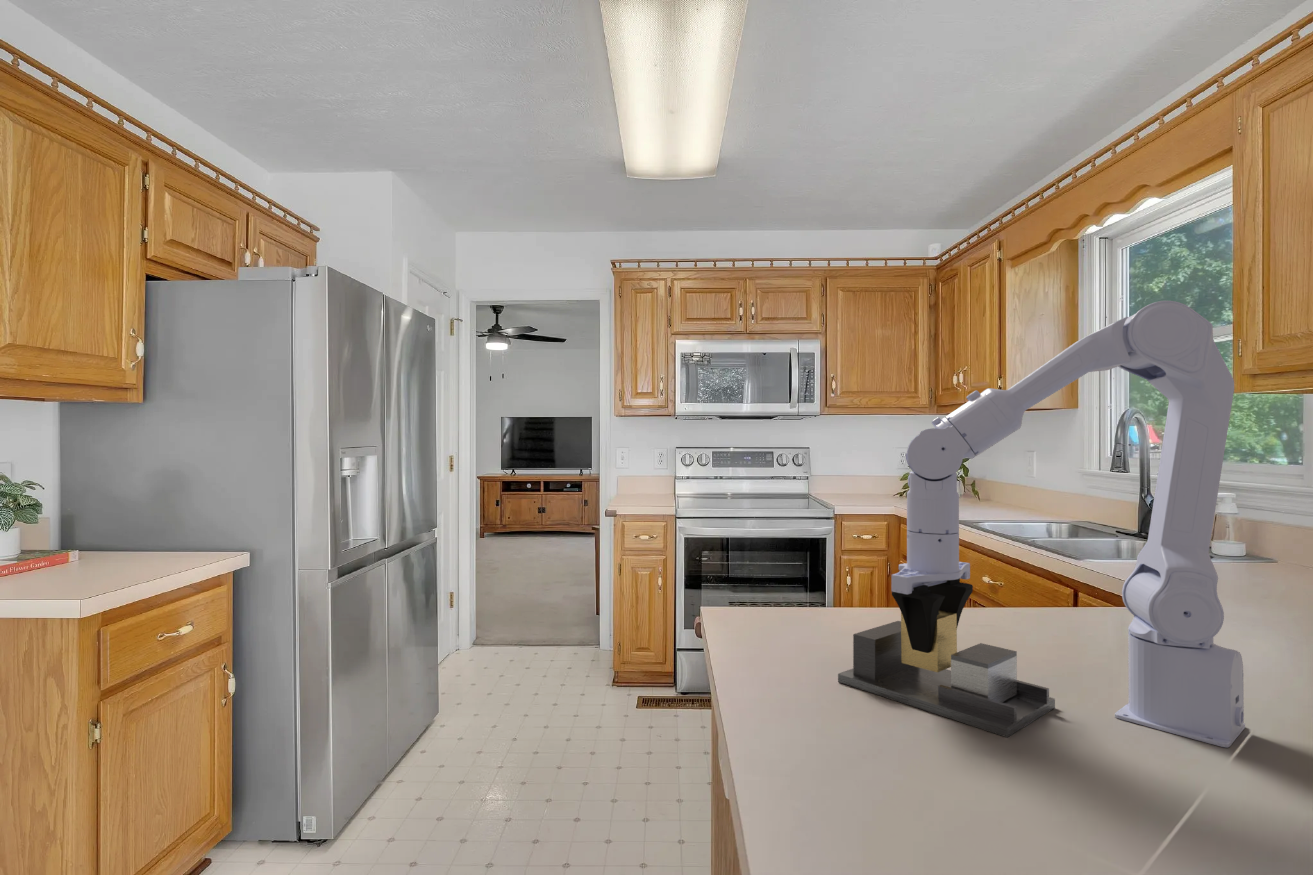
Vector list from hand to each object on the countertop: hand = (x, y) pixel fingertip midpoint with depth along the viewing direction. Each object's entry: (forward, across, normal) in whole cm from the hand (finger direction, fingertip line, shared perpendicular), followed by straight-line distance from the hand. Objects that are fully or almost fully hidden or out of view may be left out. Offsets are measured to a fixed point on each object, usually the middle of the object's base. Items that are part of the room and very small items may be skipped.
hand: (932, 646), depth 79 cm
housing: (+2, 0, 0) cm, 2 cm away
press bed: (+5, 0, +1) cm, 5 cm away
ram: (+4, 0, +6) cm, 7 cm away
